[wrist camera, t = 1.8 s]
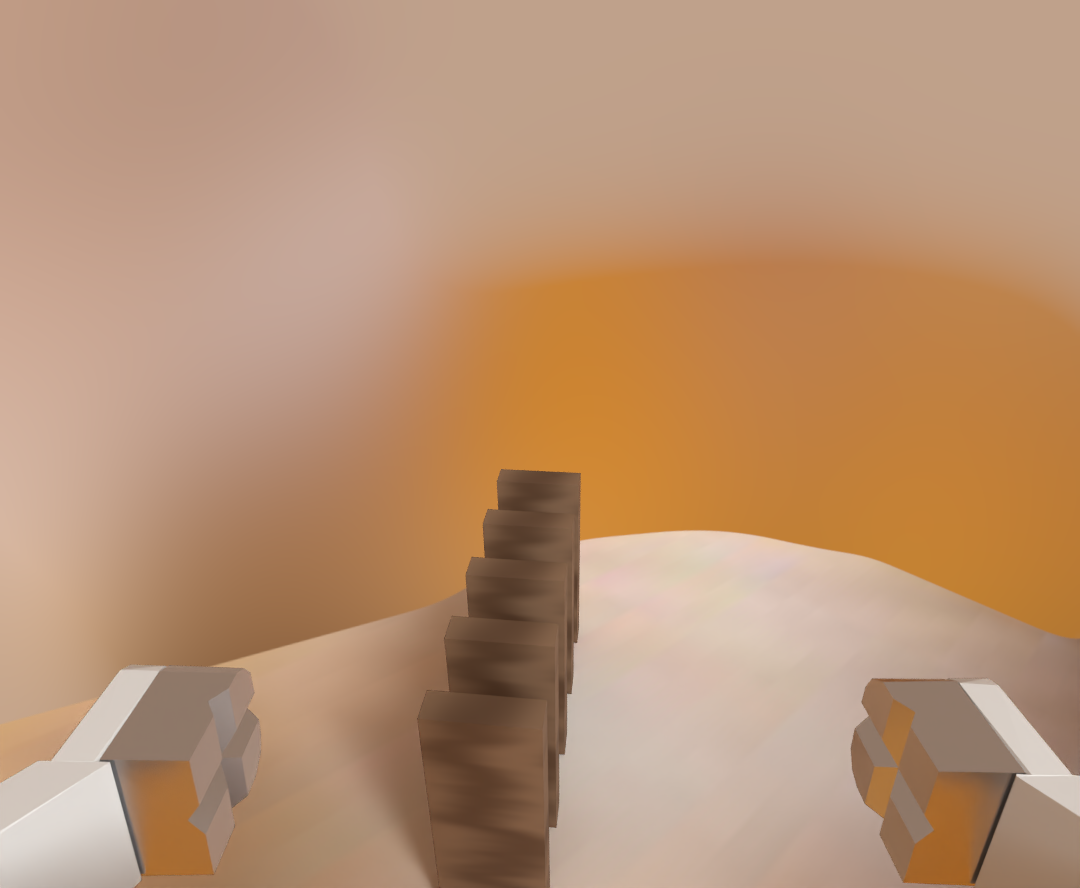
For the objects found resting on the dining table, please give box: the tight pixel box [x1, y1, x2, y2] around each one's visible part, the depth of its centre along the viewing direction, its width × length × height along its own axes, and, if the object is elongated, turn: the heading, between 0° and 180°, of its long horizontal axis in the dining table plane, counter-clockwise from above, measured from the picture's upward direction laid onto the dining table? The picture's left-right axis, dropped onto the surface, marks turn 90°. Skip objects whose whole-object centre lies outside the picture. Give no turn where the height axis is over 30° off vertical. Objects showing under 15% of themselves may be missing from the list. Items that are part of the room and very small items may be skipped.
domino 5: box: [417, 690, 550, 888], centre depth 40 cm, size 6×2×15 cm, turn 83°
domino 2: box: [483, 509, 575, 694], centre depth 54 cm, size 6×2×15 cm, turn 83°
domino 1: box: [497, 469, 580, 643], centre depth 59 cm, size 6×2×15 cm, turn 83°
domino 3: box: [466, 557, 567, 754], centre depth 49 cm, size 6×2×15 cm, turn 83°
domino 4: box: [444, 616, 559, 828], centre depth 44 cm, size 6×2×15 cm, turn 83°
